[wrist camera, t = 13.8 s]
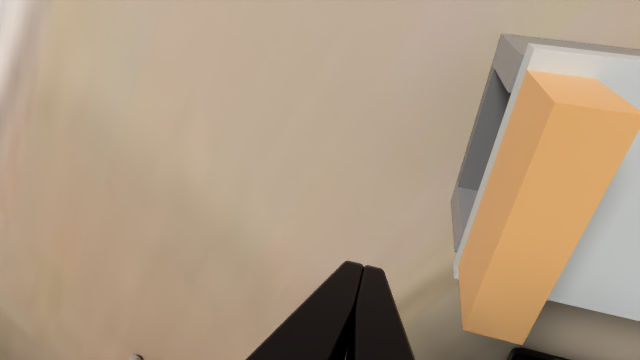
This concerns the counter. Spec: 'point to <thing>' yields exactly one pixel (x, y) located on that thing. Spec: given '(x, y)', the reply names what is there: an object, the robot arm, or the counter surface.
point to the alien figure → (135, 357)
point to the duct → (497, 119)
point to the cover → (557, 196)
